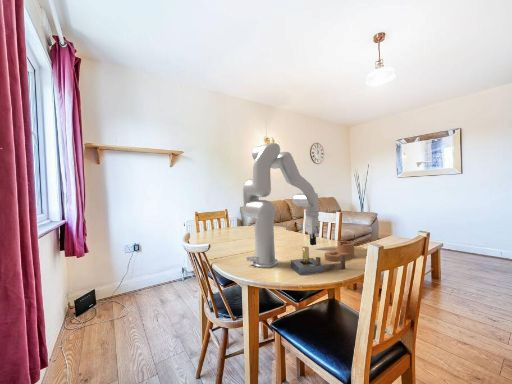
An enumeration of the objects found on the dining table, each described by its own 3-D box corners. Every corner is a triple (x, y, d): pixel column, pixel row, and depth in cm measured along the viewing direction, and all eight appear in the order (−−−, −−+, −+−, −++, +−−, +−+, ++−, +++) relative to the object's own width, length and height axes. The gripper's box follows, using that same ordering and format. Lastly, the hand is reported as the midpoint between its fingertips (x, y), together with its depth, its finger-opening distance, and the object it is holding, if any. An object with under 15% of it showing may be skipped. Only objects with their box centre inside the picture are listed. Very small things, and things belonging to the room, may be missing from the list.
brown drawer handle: (317, 272, 102) (316, 258, 102) (315, 270, 104) (314, 257, 104) (346, 268, 104) (346, 255, 104) (343, 267, 106) (343, 254, 106)
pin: (304, 270, 105) (303, 248, 104) (302, 268, 107) (301, 246, 107) (310, 269, 105) (309, 247, 105) (308, 267, 108) (307, 246, 108)
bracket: (344, 252, 129) (344, 240, 129) (357, 256, 122) (357, 243, 122) (321, 258, 120) (320, 245, 120) (333, 263, 113) (333, 249, 113)
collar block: (299, 274, 100) (299, 268, 100) (290, 266, 110) (290, 260, 110) (323, 272, 102) (323, 265, 102) (312, 263, 113) (312, 257, 112)
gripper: (301, 212, 144) (302, 242, 144) (311, 215, 129) (312, 248, 130) (312, 212, 145) (313, 241, 146) (324, 214, 131) (325, 247, 131)
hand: (313, 244), depth 138 cm, fingers closed
